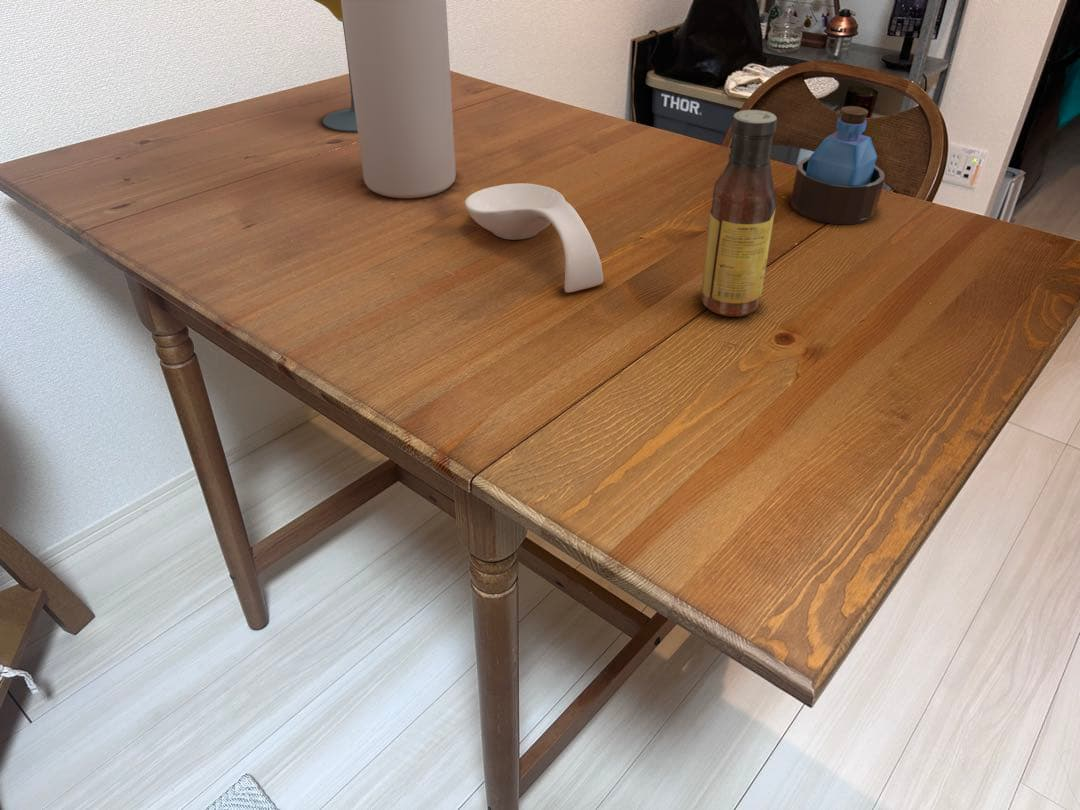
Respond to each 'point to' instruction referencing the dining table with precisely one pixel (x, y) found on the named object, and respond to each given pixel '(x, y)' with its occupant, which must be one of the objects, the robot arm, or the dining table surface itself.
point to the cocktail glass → (347, 117)
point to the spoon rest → (539, 225)
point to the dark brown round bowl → (835, 198)
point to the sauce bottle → (741, 219)
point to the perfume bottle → (845, 152)
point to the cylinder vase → (401, 94)
